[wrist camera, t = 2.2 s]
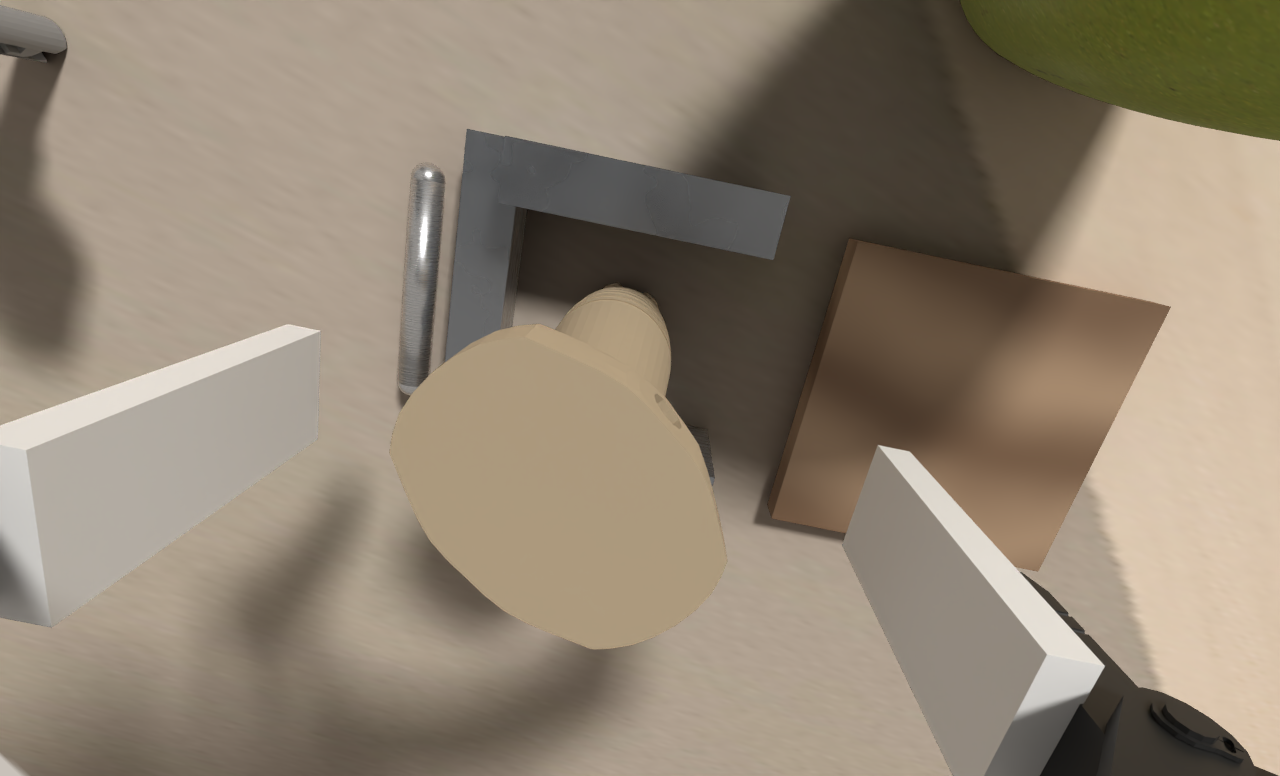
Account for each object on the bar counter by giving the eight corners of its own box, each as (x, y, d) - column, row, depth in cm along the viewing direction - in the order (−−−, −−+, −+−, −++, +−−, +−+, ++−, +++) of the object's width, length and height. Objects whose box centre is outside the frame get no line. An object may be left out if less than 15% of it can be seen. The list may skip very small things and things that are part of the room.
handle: (628, 411, 26) (580, 685, 12) (527, 297, 25) (336, 456, 10) (717, 343, 25) (780, 558, 11) (616, 219, 23) (537, 280, 9)
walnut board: (849, 238, 23) (858, 241, 22) (1146, 300, 24) (1170, 306, 22) (767, 504, 27) (771, 518, 26) (1022, 555, 28) (1037, 571, 26)
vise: (428, 121, 23) (373, 107, 18) (768, 193, 23) (790, 195, 19) (407, 411, 27) (357, 455, 22) (696, 469, 27) (702, 524, 23)
